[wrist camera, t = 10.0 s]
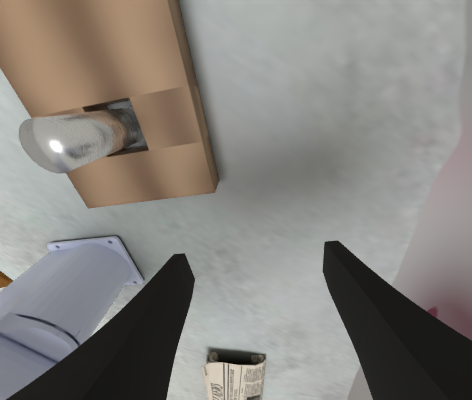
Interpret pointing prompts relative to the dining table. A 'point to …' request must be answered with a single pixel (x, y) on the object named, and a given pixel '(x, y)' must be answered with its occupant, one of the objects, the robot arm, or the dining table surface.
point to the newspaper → (233, 379)
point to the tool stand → (114, 89)
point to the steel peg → (78, 137)
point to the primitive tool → (4, 280)
